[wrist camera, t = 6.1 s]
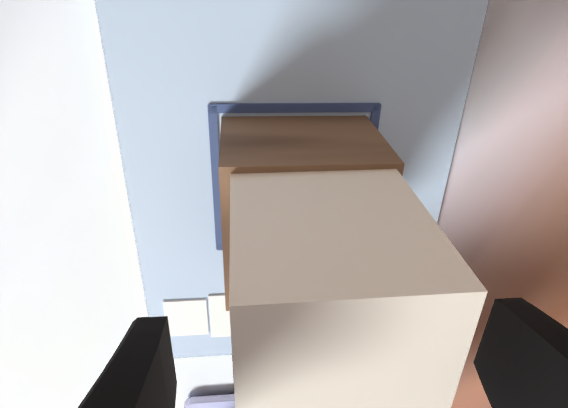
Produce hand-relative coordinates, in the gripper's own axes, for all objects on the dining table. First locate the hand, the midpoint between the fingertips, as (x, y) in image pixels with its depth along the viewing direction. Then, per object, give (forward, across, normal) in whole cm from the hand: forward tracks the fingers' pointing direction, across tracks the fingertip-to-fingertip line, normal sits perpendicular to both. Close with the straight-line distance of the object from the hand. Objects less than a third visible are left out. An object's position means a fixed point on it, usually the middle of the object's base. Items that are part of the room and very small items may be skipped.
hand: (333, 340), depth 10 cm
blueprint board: (+8, 0, 0) cm, 8 cm away
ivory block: (+4, 0, 0) cm, 4 cm away
